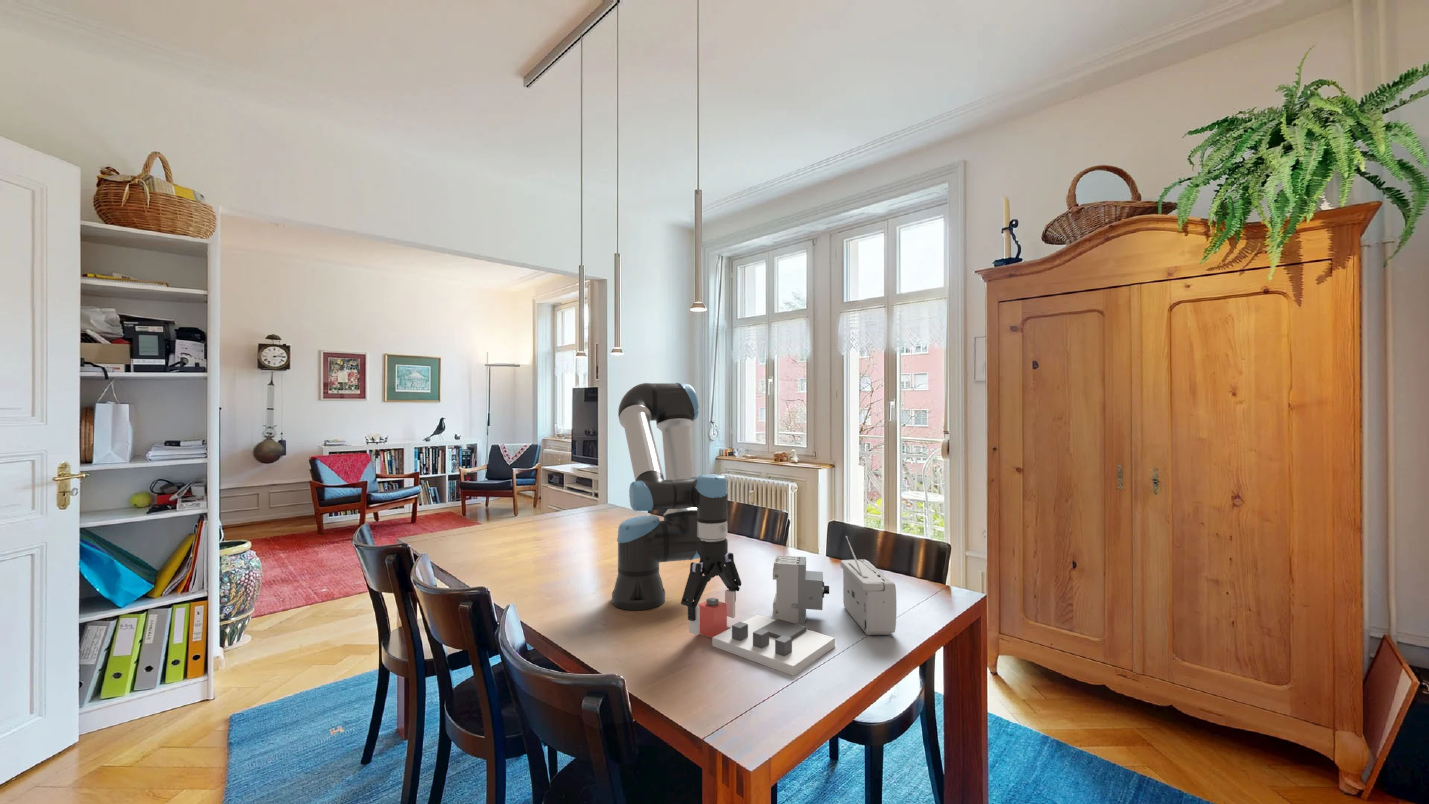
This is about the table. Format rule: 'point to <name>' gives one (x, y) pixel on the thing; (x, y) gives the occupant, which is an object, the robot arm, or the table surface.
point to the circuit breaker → (796, 589)
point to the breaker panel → (774, 643)
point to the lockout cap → (713, 617)
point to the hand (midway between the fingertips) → (712, 624)
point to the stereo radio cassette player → (869, 596)
